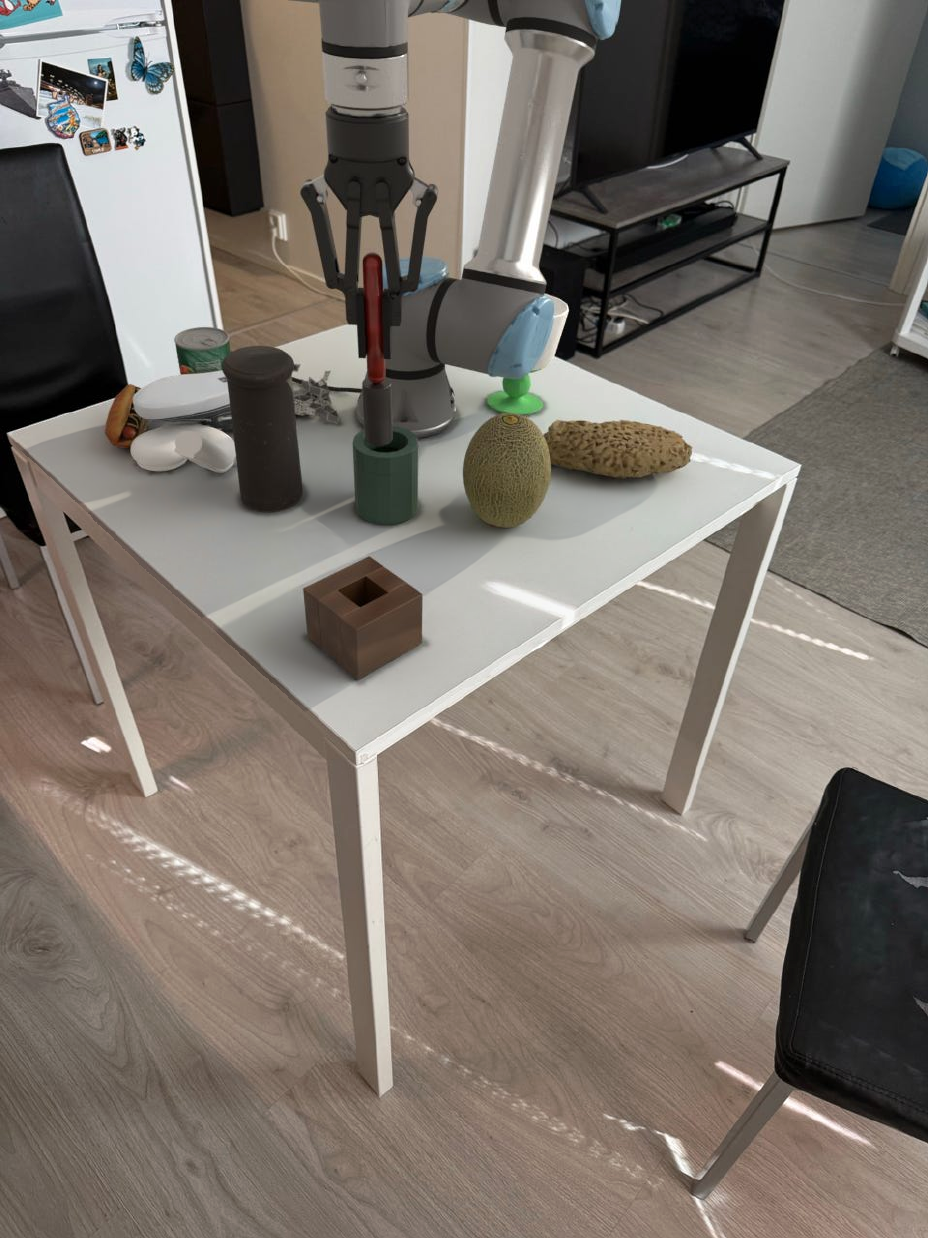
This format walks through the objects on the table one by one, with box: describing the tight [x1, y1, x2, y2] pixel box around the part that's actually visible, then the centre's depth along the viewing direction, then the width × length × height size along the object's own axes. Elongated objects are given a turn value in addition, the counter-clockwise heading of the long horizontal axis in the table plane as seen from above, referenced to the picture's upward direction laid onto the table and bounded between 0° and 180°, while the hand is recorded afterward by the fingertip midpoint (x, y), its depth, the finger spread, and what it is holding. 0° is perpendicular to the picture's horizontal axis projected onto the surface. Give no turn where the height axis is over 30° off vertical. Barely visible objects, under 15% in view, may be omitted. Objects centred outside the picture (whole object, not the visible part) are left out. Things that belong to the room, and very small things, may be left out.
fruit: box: [462, 412, 552, 529], centre depth 115 cm, size 11×11×15 cm
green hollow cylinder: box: [352, 426, 419, 526], centre depth 118 cm, size 8×8×10 cm
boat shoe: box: [133, 370, 233, 432], centre depth 132 cm, size 24×9×8 cm, turn 136°
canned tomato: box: [173, 326, 232, 375], centre depth 137 cm, size 8×8×11 cm
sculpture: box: [130, 423, 236, 474], centre depth 125 cm, size 12×15×8 cm
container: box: [222, 345, 303, 513], centre depth 115 cm, size 9×9×20 cm
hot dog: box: [104, 383, 150, 449], centre depth 131 cm, size 5×13×5 cm
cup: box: [486, 293, 570, 416], centre depth 141 cm, size 14×14×16 cm
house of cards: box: [292, 363, 340, 425], centre depth 137 cm, size 9×9×8 cm
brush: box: [361, 251, 393, 446], centre depth 97 cm, size 3×3×21 cm
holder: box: [302, 555, 424, 681], centre depth 98 cm, size 9×9×7 cm
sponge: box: [543, 419, 693, 479], centre depth 129 cm, size 13×8×20 cm
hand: (375, 352), depth 97 cm, fingers closed on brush, 2 cm apart
